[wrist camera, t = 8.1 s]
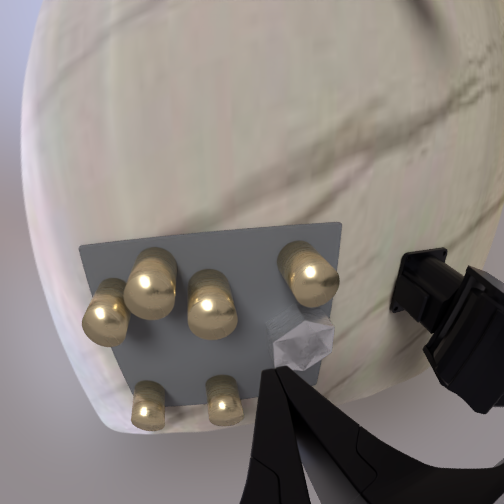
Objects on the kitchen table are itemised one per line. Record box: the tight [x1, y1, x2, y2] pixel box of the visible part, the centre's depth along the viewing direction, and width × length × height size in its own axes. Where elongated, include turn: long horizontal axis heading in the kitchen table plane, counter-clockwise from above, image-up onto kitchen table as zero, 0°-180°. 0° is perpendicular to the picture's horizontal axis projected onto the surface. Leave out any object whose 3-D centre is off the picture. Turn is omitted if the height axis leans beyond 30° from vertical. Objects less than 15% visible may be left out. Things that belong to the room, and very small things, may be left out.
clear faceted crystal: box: [266, 303, 335, 371], centre depth 22 cm, size 6×5×2 cm
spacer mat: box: [79, 222, 342, 407], centre depth 22 cm, size 19×18×1 cm
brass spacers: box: [82, 240, 340, 431], centre depth 20 cm, size 16×16×4 cm
